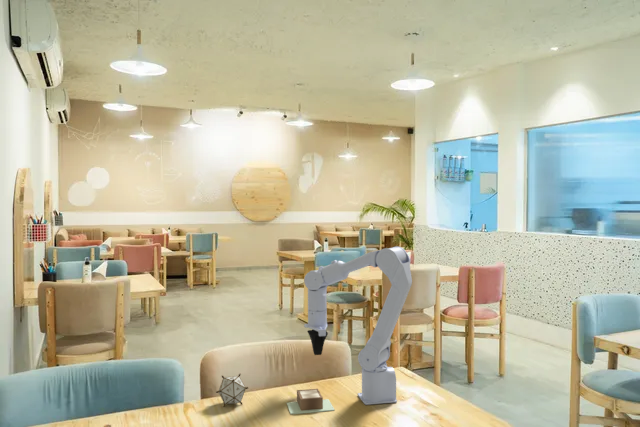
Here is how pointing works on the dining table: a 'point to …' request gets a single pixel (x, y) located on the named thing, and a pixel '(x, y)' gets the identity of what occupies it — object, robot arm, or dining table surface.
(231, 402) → the game die
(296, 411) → the sage mat
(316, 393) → the walnut frame
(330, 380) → the dining table surface
